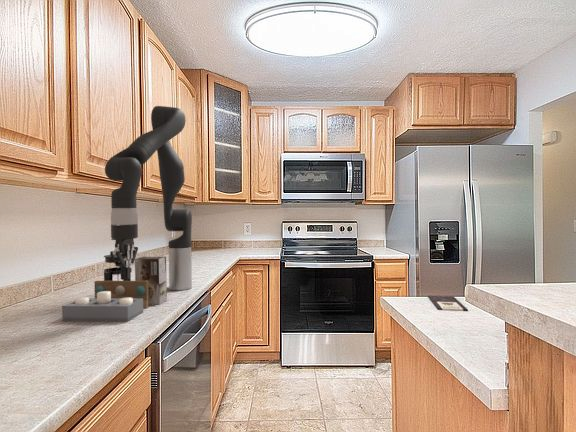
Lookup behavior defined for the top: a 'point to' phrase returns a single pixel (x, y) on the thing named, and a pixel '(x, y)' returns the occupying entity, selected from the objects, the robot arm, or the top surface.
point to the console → (102, 311)
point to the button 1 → (82, 300)
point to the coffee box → (153, 277)
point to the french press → (112, 270)
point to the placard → (124, 289)
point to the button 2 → (104, 297)
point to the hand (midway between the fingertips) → (125, 279)
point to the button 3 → (126, 300)
